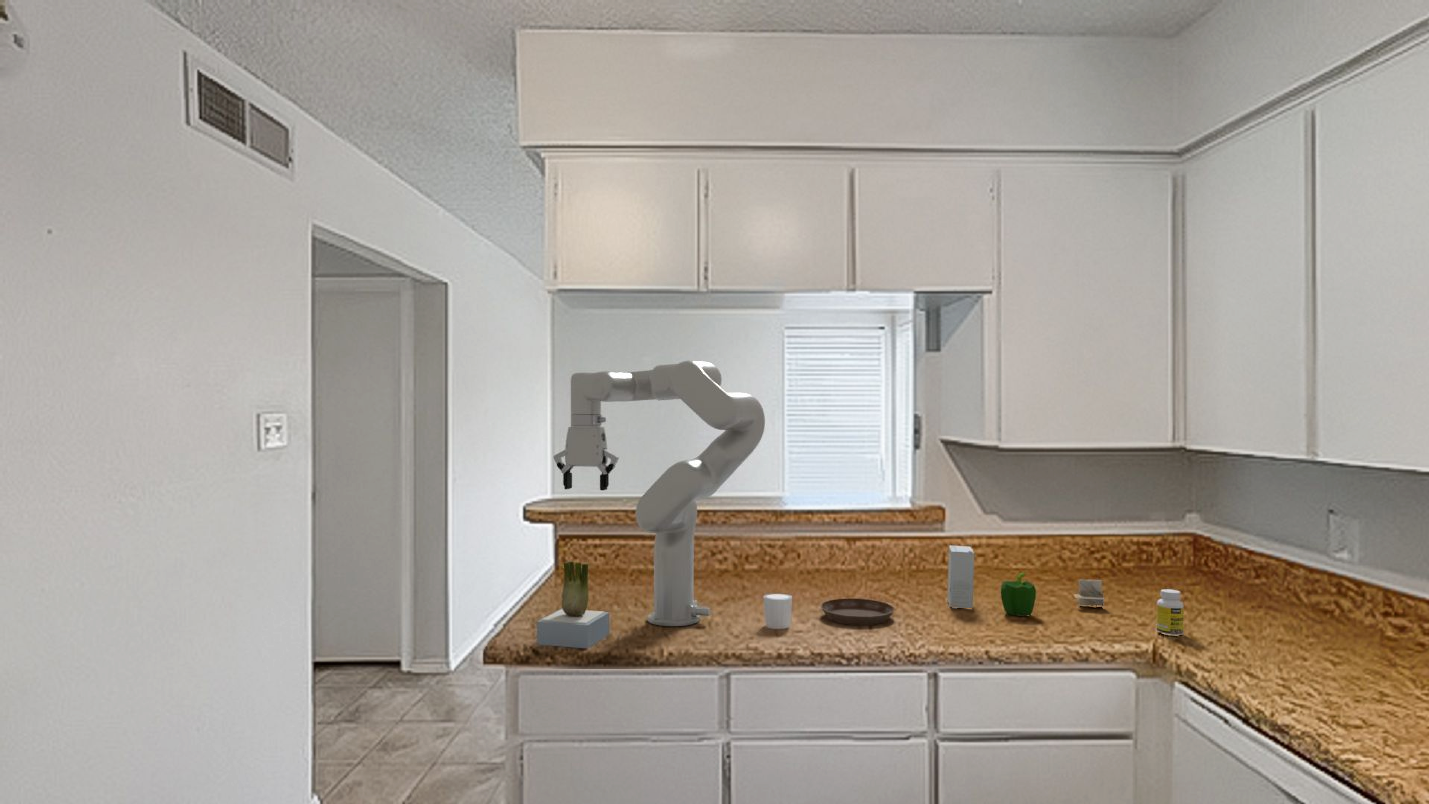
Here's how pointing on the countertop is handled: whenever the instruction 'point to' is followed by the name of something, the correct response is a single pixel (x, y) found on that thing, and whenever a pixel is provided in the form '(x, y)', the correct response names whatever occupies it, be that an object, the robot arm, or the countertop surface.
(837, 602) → the plant saucer
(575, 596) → the fennel bulb
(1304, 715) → the countertop surface
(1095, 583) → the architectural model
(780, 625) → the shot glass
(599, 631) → the base block
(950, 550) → the skincare box
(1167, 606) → the supplement bottle
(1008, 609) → the bell pepper
